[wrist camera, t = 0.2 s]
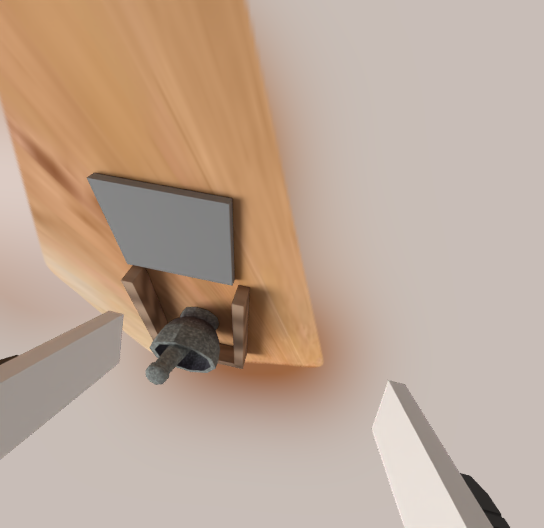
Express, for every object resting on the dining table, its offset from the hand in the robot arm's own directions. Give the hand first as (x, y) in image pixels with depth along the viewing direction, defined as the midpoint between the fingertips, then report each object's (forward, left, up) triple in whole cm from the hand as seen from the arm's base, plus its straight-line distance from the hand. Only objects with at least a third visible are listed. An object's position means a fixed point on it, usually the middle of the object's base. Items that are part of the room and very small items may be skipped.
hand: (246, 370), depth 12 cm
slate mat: (+7, -12, -15) cm, 21 cm away
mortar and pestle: (+24, -11, -16) cm, 31 cm away
